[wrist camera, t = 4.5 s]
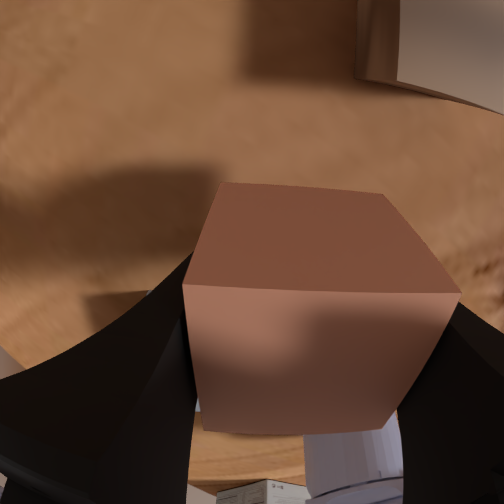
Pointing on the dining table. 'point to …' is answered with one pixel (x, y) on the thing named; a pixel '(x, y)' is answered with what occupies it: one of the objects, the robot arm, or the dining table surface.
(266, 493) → the supplement box
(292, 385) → the terracotta block
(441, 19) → the walnut block
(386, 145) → the dining table surface
